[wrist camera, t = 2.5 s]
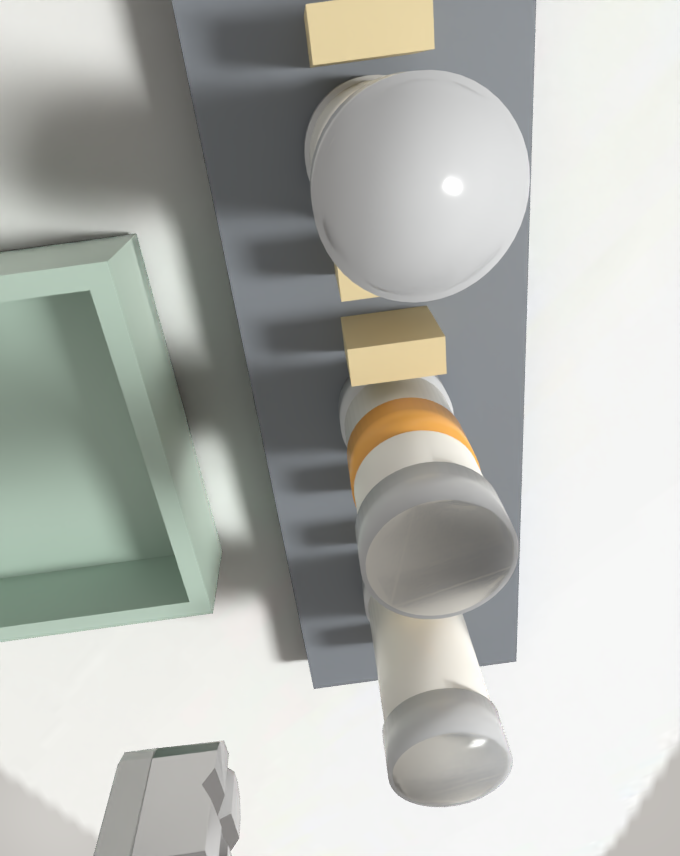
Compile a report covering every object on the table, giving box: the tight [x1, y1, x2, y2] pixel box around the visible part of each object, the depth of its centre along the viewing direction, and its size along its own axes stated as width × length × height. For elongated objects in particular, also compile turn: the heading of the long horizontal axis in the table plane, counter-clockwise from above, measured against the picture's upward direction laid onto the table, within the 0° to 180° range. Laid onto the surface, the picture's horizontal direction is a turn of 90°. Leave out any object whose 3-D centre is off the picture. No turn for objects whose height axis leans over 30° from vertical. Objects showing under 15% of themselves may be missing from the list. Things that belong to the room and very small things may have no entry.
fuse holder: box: [172, 0, 536, 689], centre depth 18 cm, size 24×8×4 cm, turn 7°
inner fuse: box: [304, 70, 530, 302], centre depth 12 cm, size 3×3×7 cm
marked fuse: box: [338, 375, 519, 619], centre depth 16 cm, size 3×3×7 cm
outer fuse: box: [362, 579, 513, 807], centre depth 19 cm, size 3×3×7 cm
